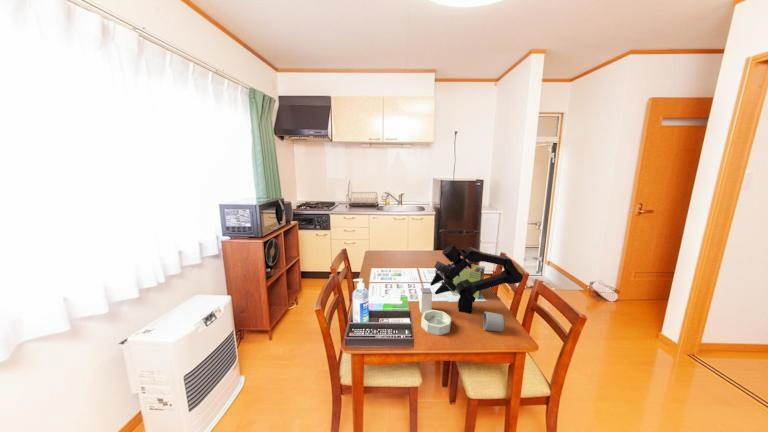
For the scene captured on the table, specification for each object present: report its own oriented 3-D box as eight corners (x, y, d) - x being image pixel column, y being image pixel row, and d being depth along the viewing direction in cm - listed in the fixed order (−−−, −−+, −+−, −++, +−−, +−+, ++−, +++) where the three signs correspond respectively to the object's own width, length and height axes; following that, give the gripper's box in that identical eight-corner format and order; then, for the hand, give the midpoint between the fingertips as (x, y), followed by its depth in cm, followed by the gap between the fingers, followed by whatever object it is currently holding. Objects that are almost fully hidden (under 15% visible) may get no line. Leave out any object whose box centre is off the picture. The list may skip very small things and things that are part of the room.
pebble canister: (428, 307, 135) (429, 287, 133) (431, 313, 130) (432, 292, 128) (419, 307, 135) (420, 287, 132) (421, 313, 130) (422, 292, 128)
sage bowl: (451, 320, 124) (451, 313, 123) (448, 337, 112) (449, 328, 111) (424, 315, 128) (425, 308, 127) (419, 330, 116) (419, 322, 115)
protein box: (479, 299, 144) (481, 272, 141) (451, 292, 152) (452, 266, 149) (483, 291, 152) (485, 266, 149) (456, 285, 160) (458, 260, 157)
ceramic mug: (505, 335, 114) (507, 319, 112) (485, 333, 115) (486, 317, 113) (498, 321, 124) (500, 306, 122) (480, 319, 125) (481, 304, 124)
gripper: (440, 250, 136) (418, 271, 138) (451, 264, 118) (426, 287, 120) (454, 264, 138) (432, 284, 140) (467, 280, 120) (442, 303, 122)
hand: (432, 289), depth 130 cm, fingers open, 9 cm apart
